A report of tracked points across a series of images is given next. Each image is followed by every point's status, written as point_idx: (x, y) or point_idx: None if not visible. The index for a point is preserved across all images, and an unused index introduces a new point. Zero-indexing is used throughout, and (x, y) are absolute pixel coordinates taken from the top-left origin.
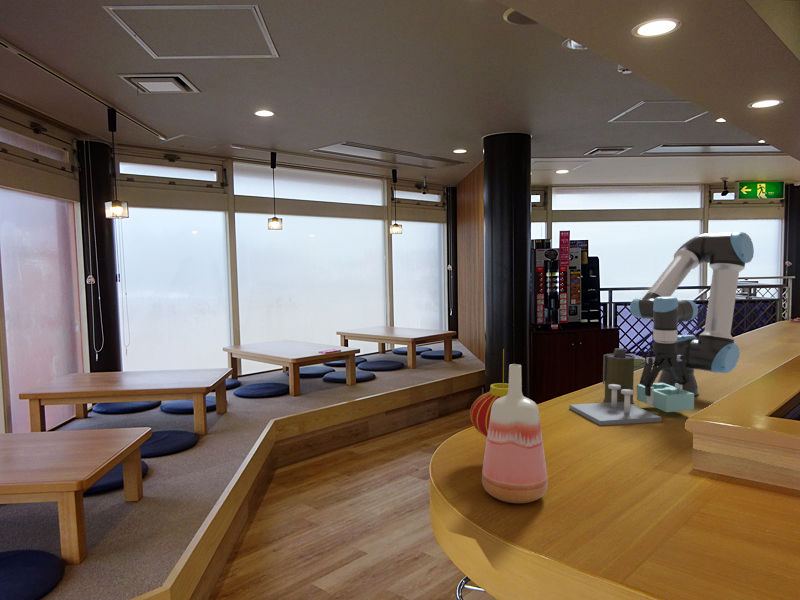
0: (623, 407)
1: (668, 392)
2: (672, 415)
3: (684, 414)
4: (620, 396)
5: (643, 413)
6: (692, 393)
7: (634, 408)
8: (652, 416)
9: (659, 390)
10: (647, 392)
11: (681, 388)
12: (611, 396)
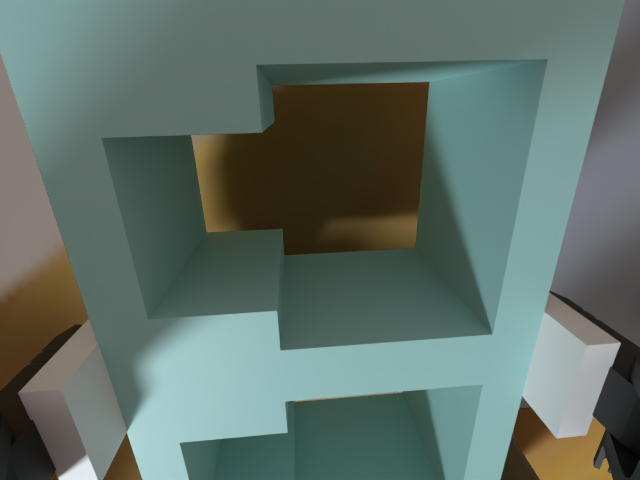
0: (610, 295)
1: (289, 323)
2: (315, 144)
3: (199, 155)
4: (507, 455)
5: (620, 117)
6: (8, 13)
7: (558, 263)
8: (634, 2)
9: (431, 336)
10: (592, 316)
11: (74, 348)
12: (534, 471)
